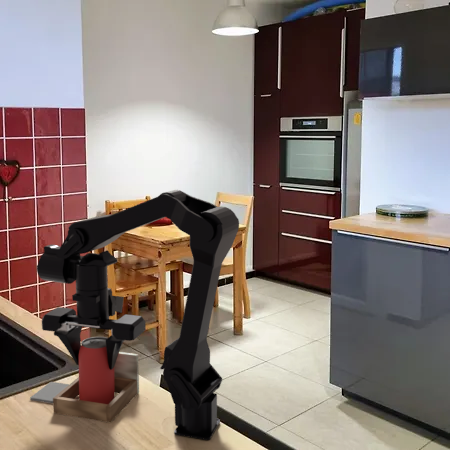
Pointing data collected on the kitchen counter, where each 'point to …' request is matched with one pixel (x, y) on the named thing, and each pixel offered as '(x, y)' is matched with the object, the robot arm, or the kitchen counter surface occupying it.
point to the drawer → (124, 385)
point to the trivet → (48, 392)
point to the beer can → (95, 372)
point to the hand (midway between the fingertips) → (95, 366)
